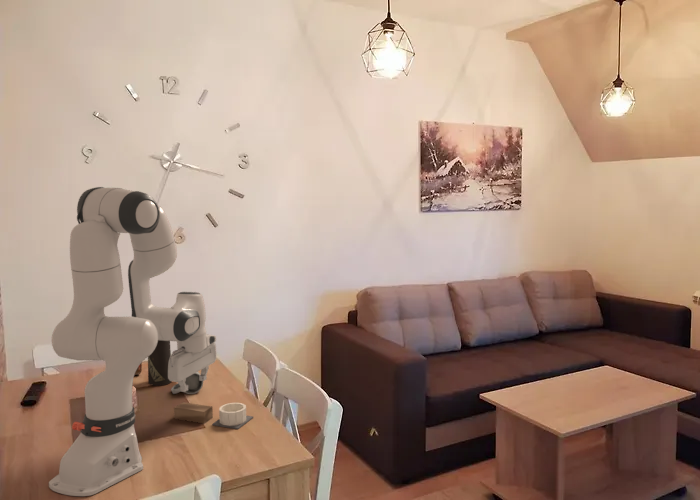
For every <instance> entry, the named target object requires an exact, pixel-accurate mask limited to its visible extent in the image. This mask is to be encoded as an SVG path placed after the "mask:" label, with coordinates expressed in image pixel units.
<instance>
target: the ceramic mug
mask: <svg viewBox="0 0 700 500" xmlns="http://www.w3.org/2000/svg"><path fill="white" fill-rule="evenodd" d="M199 375H201V372H200V371H198V372H196V373H194V374H192V375H191V376H189V377H187V378H186V381H185V383H186V385H188V390H187V391H186V392H184V393H185V394H187V395H194V394H195V395H196V394H197V393H199V392H200V391H201V389H202V388H203V385H204V381H200V380H199ZM170 390H171V392H172V395H175V394H176V395H177V394H178V393H180V392H181V388H180V385H179V384H178V383H176V384H174V385H173V386H172V387H171V389H170Z"/></svg>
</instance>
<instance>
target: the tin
mask: <svg viewBox="0 0 700 500" xmlns="http://www.w3.org/2000/svg"><path fill="white" fill-rule="evenodd" d="M142 363H143V362H142ZM142 363H141V364H140V365H139V366H138V368H137V370H136V372H135V375H134V376H137V375H141V373H142V370H143V368H142V366H143V364H142Z"/></svg>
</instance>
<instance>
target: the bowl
mask: <svg viewBox="0 0 700 500" xmlns="http://www.w3.org/2000/svg"><path fill="white" fill-rule="evenodd" d="M218 410H219V411H218V415H219V419H220V423H221V424H222V425H227V426H233V425H239V424H242V423H244V422H245V421H246V416H247V405H246V404H244V403H241V402H230V403H229V402H228V403H226V404H223V405H220V406H219V409H218Z"/></svg>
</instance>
